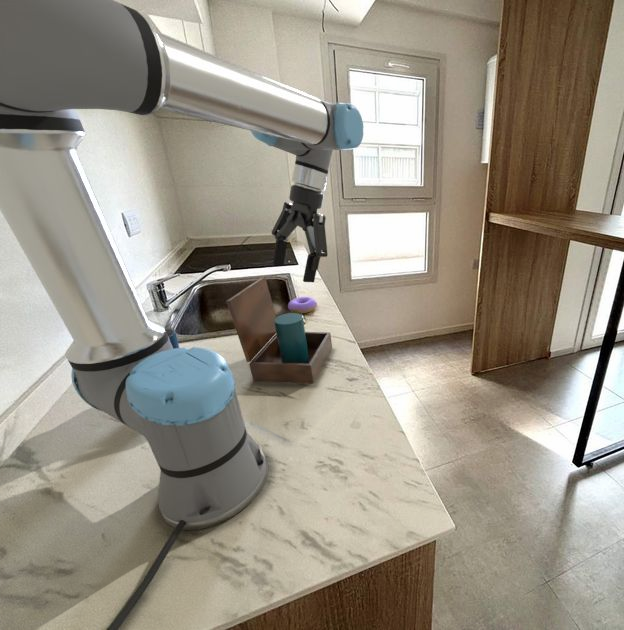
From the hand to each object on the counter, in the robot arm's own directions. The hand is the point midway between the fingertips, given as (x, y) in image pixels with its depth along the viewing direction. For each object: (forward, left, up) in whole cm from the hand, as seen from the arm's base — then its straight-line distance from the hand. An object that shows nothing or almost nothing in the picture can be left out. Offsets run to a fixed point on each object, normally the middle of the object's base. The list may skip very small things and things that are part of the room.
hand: (292, 273), depth 85 cm
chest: (-7, -4, -23) cm, 24 cm away
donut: (+21, +21, -23) cm, 38 cm away
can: (-7, -4, -22) cm, 23 cm away
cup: (-28, +12, -23) cm, 38 cm away
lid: (-10, +3, -9) cm, 14 cm away
